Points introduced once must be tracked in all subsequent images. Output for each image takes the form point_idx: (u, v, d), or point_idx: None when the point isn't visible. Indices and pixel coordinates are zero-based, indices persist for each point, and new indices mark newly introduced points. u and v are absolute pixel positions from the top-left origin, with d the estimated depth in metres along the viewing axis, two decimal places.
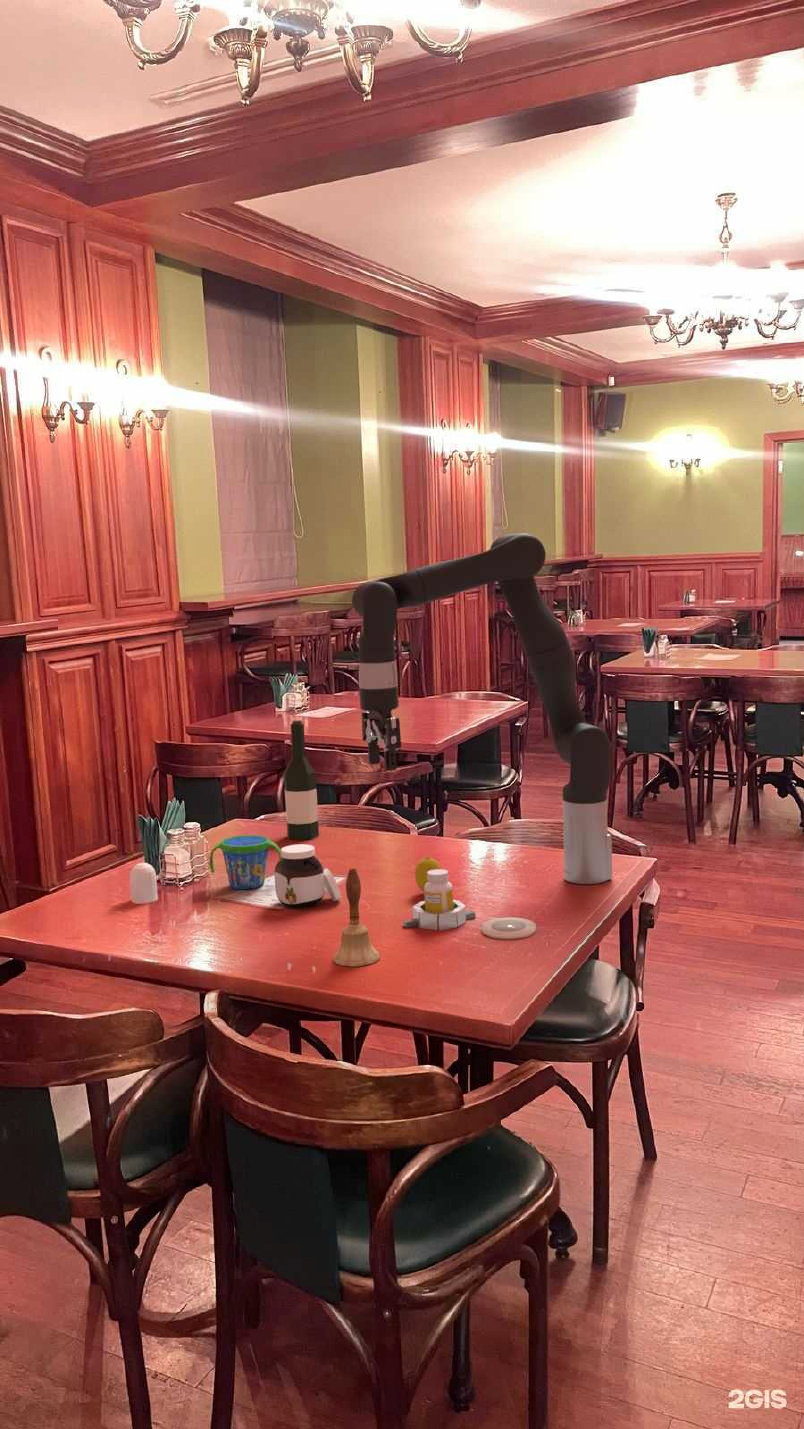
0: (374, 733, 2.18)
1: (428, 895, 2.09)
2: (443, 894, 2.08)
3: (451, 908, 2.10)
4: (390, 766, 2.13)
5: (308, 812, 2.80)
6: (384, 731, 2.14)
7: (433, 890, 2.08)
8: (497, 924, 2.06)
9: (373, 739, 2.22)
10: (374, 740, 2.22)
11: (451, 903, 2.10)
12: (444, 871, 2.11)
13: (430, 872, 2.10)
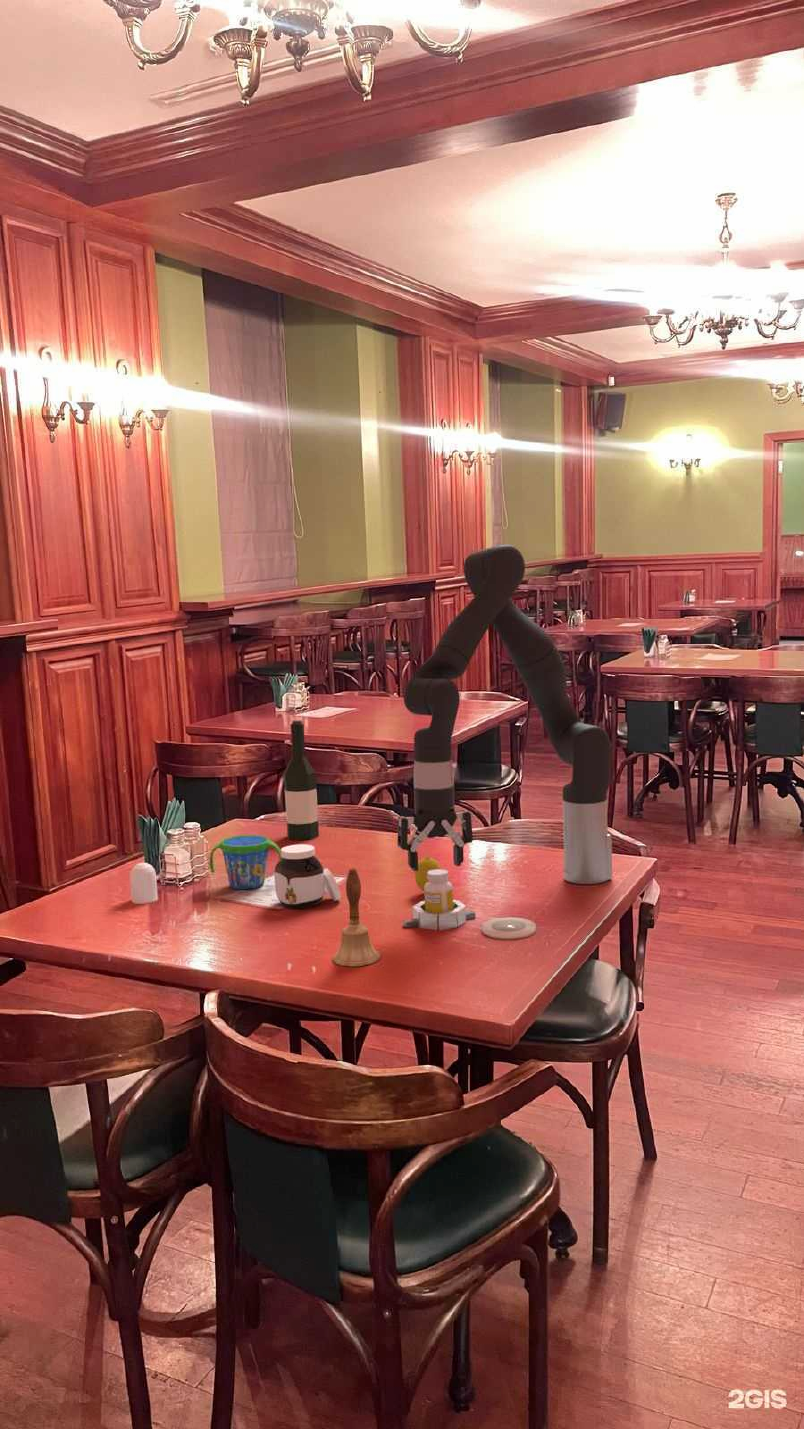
0: (433, 834, 2.08)
1: (428, 895, 2.09)
2: (443, 894, 2.08)
3: (451, 908, 2.10)
4: None
5: (308, 812, 2.80)
6: None
7: (433, 890, 2.08)
8: (497, 924, 2.06)
9: None
10: None
11: (451, 903, 2.10)
12: (444, 871, 2.11)
13: (430, 872, 2.10)
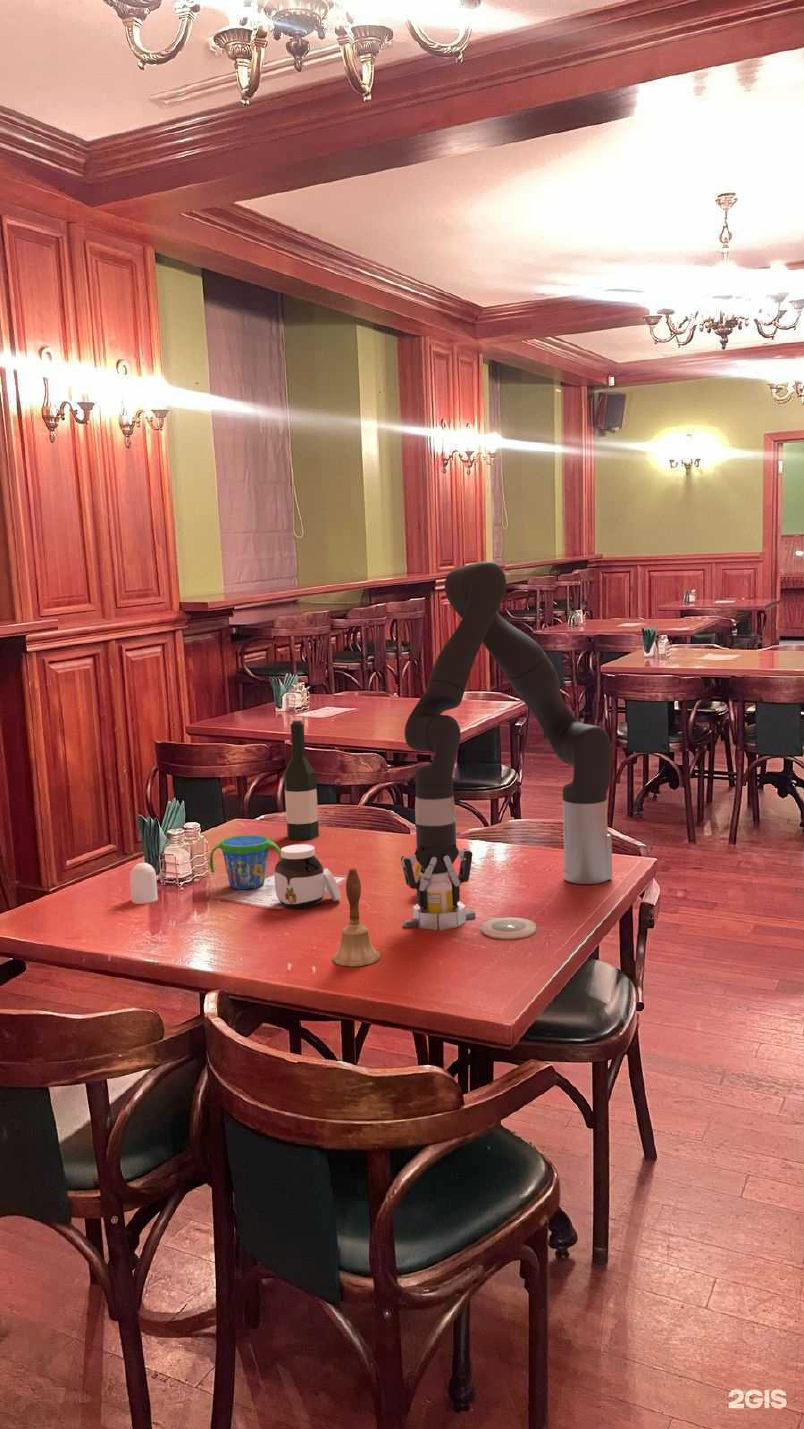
0: (438, 869, 2.09)
1: (428, 895, 2.09)
2: (442, 894, 2.08)
3: (451, 908, 2.10)
4: None
5: (308, 812, 2.80)
6: None
7: (433, 890, 2.08)
8: (497, 924, 2.06)
9: None
10: None
11: (451, 903, 2.10)
12: None
13: None
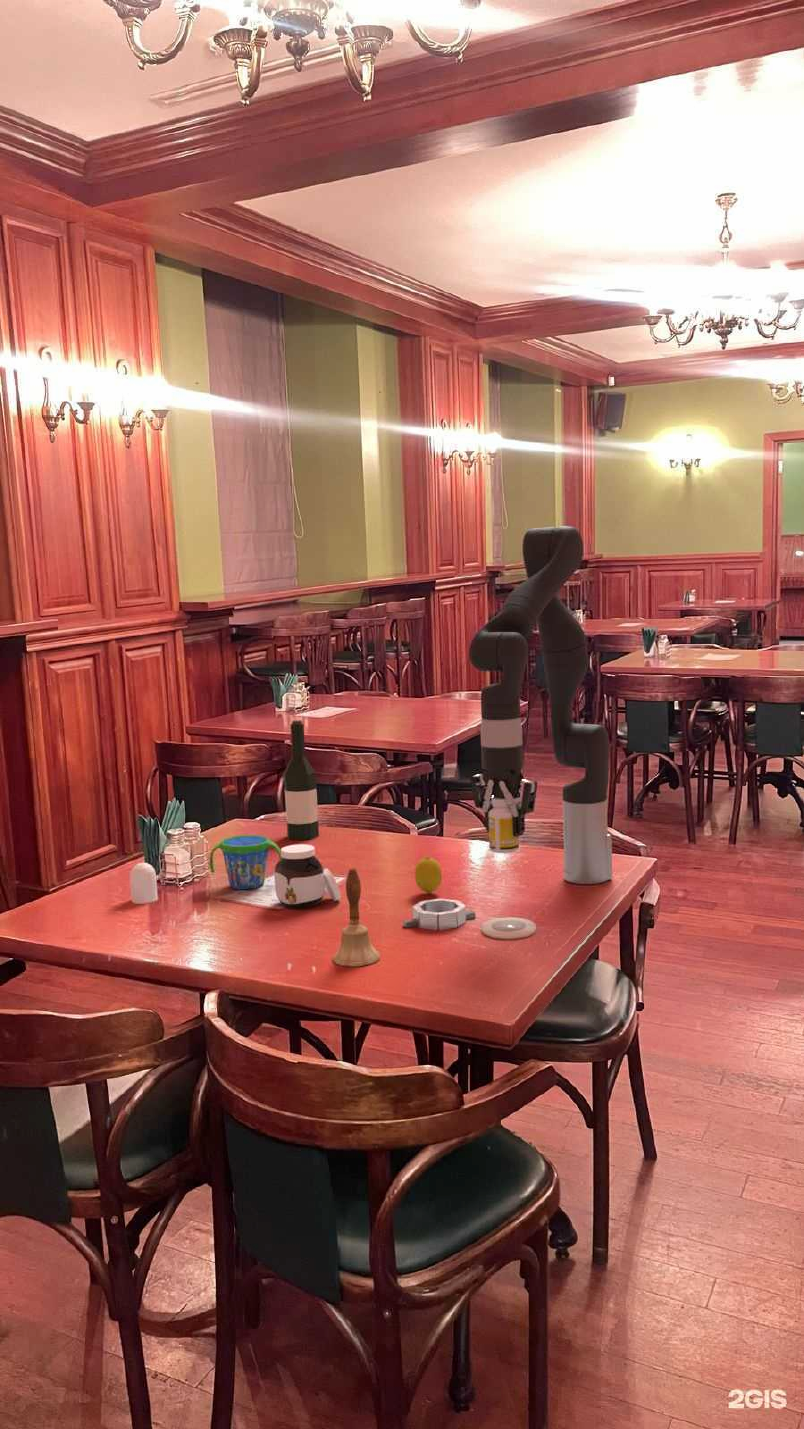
0: (499, 793, 2.01)
1: None
2: (495, 820, 2.00)
3: (507, 838, 2.00)
4: (520, 832, 2.00)
5: (308, 812, 2.80)
6: (514, 792, 2.00)
7: (489, 814, 2.02)
8: (497, 924, 2.06)
9: (490, 805, 2.05)
10: (491, 805, 2.05)
11: (506, 832, 2.00)
12: None
13: None
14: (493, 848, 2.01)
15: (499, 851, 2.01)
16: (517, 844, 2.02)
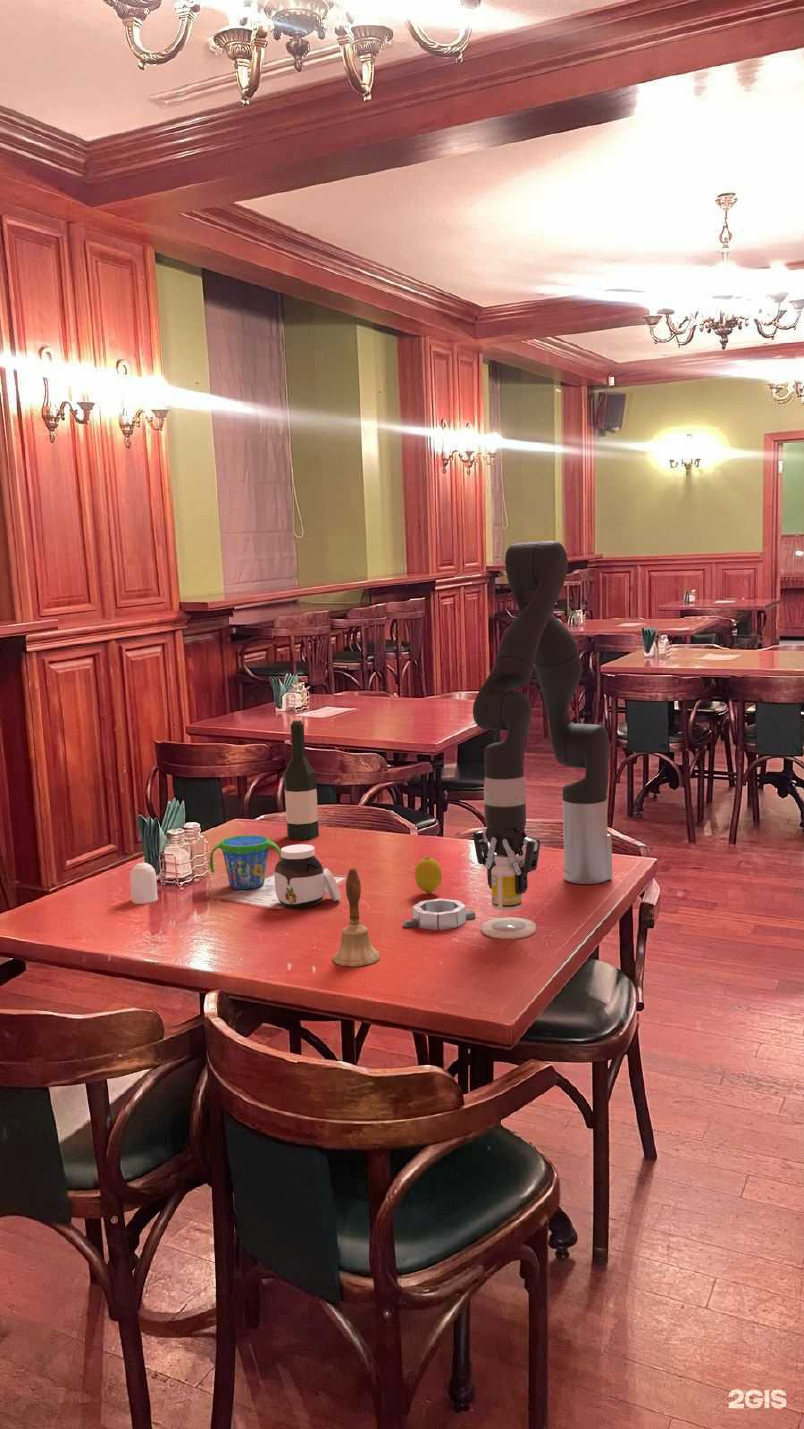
0: (502, 851, 2.02)
1: (491, 876, 2.04)
2: (498, 878, 2.01)
3: (509, 895, 2.01)
4: (523, 890, 2.01)
5: (308, 812, 2.80)
6: (517, 850, 2.01)
7: (492, 872, 2.03)
8: (497, 924, 2.06)
9: (493, 862, 2.06)
10: (494, 862, 2.06)
11: (509, 890, 2.01)
12: None
13: None
14: (496, 906, 2.02)
15: (502, 908, 2.02)
16: (520, 901, 2.03)
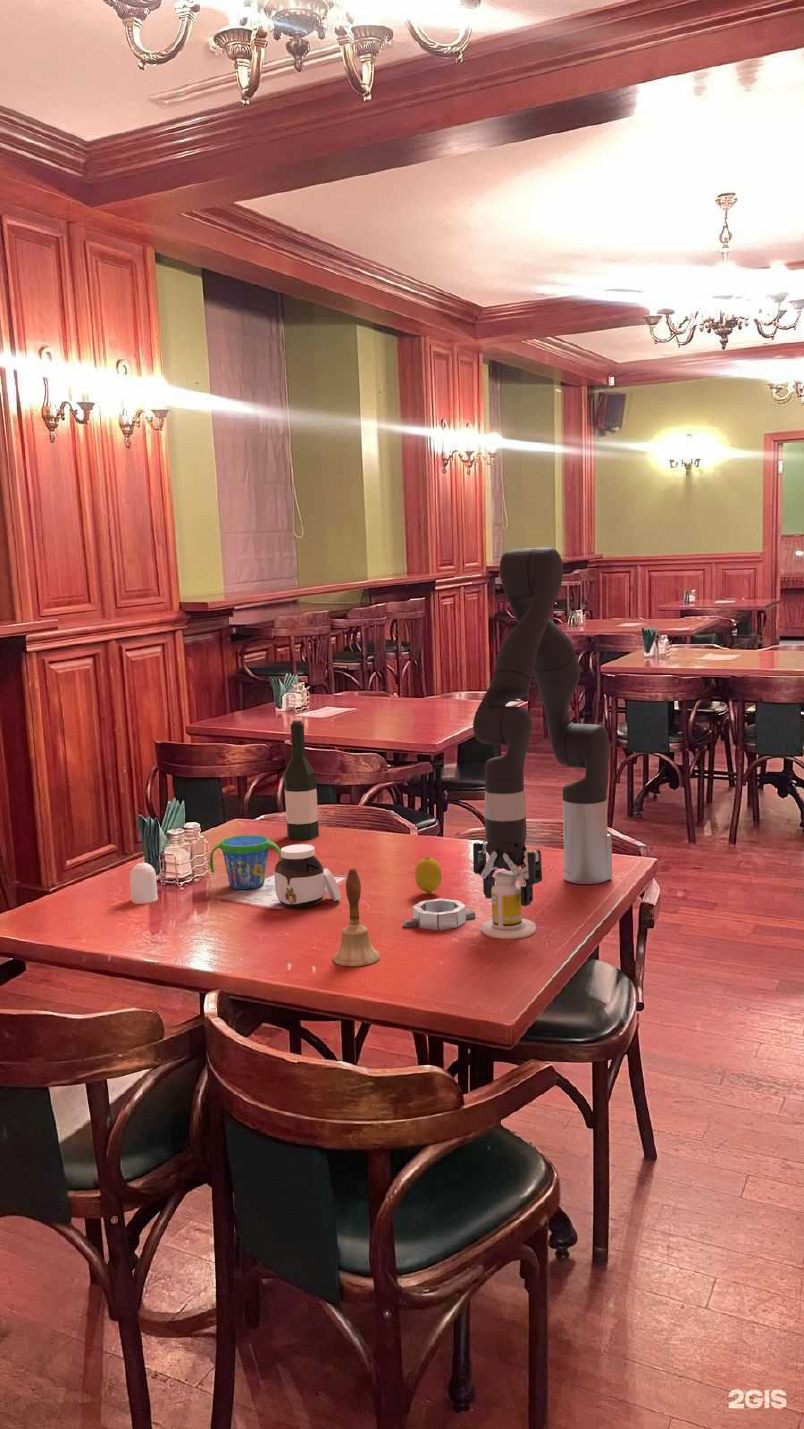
0: (500, 866, 2.03)
1: None
2: (498, 897, 2.02)
3: (510, 914, 2.02)
4: (528, 901, 2.01)
5: (308, 812, 2.80)
6: (518, 864, 2.01)
7: (492, 891, 2.03)
8: None
9: None
10: (490, 872, 2.07)
11: (509, 909, 2.02)
12: (510, 875, 2.03)
13: (500, 872, 2.05)
14: (496, 924, 2.03)
15: (502, 927, 2.02)
16: (520, 920, 2.03)
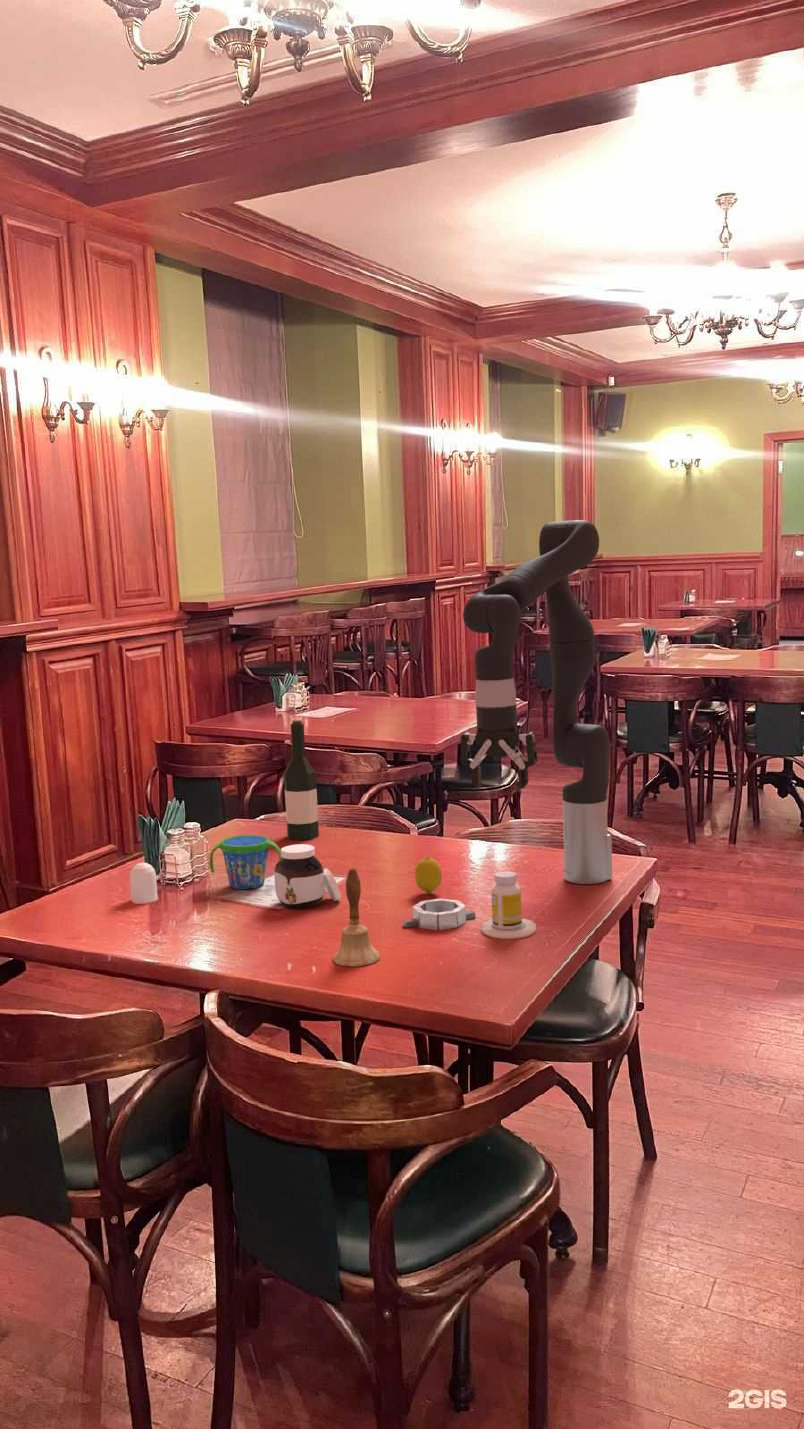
0: (493, 753, 2.07)
1: None
2: (498, 897, 2.02)
3: (510, 914, 2.02)
4: (526, 783, 2.06)
5: (308, 812, 2.80)
6: (512, 749, 2.06)
7: (492, 891, 2.03)
8: None
9: None
10: None
11: (509, 909, 2.02)
12: (510, 875, 2.03)
13: (500, 872, 2.05)
14: (496, 924, 2.03)
15: (502, 927, 2.02)
16: (520, 920, 2.03)
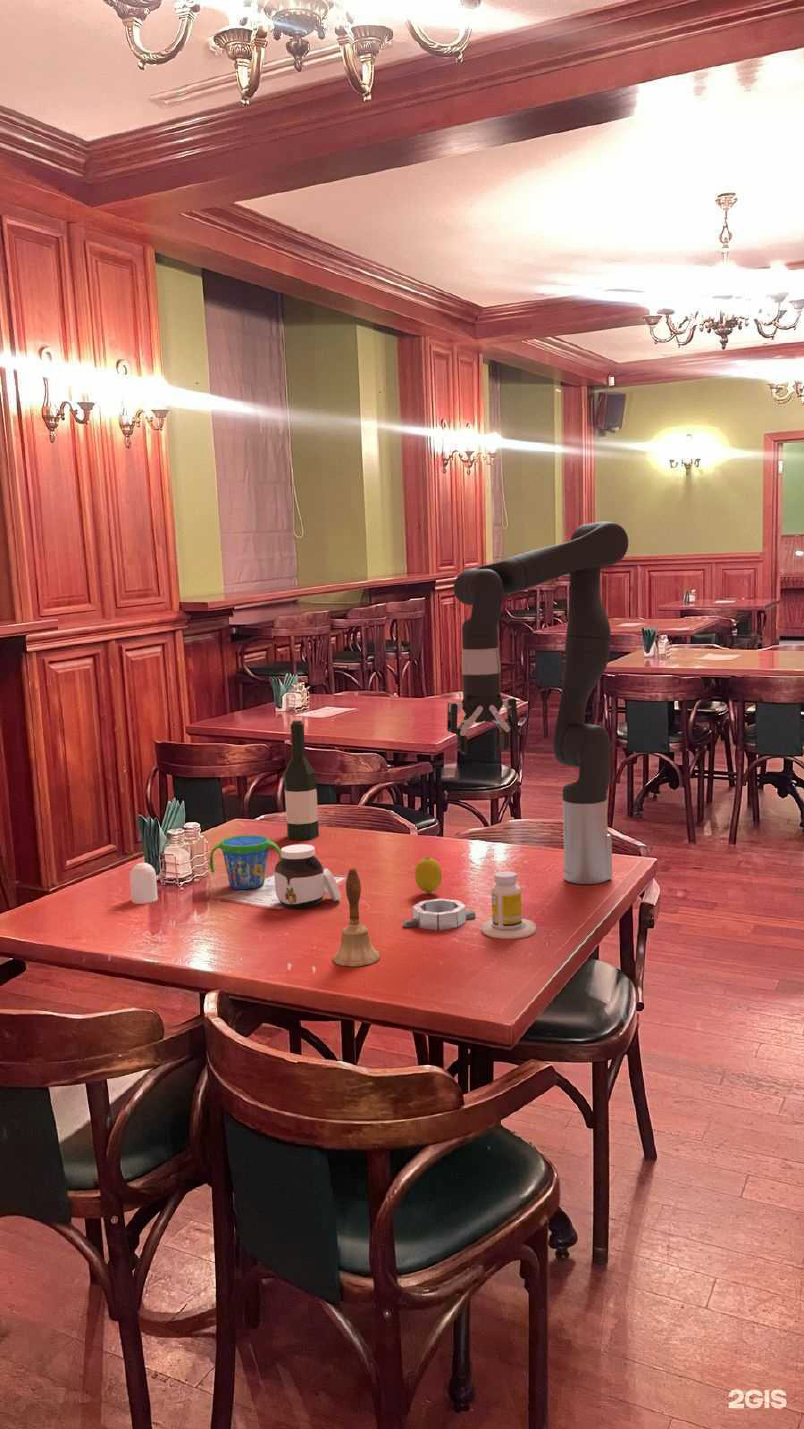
0: (481, 719, 2.19)
1: None
2: (498, 897, 2.02)
3: (510, 914, 2.02)
4: None
5: (308, 812, 2.80)
6: None
7: (492, 891, 2.03)
8: None
9: None
10: None
11: (509, 909, 2.02)
12: (510, 875, 2.03)
13: (500, 872, 2.05)
14: (496, 924, 2.03)
15: (502, 927, 2.02)
16: (520, 920, 2.03)
